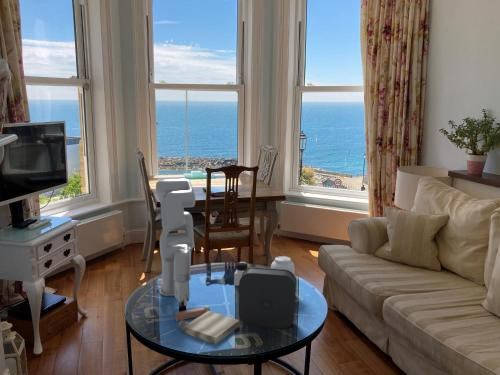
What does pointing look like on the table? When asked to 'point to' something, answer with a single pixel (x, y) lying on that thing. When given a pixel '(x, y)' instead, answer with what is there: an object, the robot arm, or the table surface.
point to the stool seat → (210, 327)
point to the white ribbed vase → (283, 264)
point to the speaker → (267, 297)
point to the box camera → (239, 272)
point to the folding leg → (191, 313)
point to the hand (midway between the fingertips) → (182, 313)
